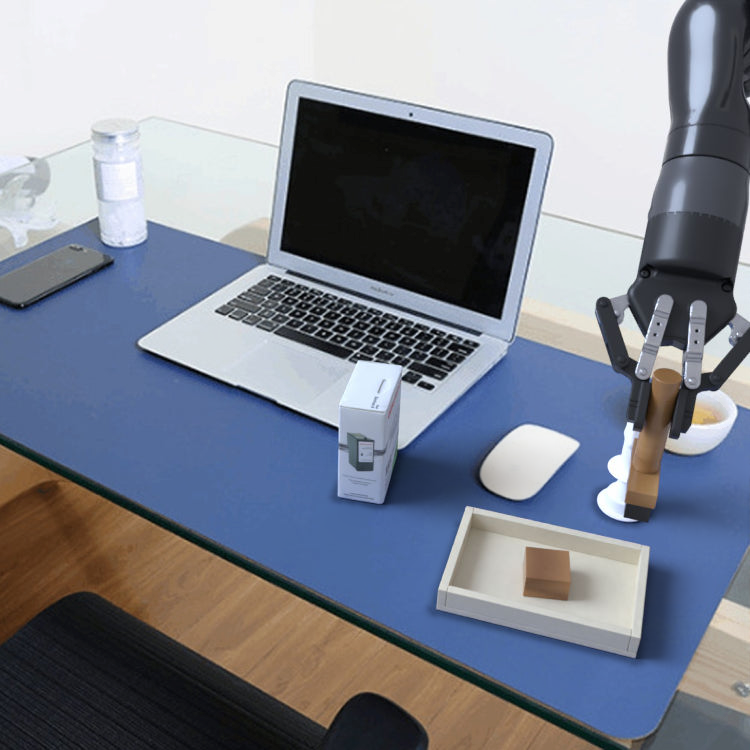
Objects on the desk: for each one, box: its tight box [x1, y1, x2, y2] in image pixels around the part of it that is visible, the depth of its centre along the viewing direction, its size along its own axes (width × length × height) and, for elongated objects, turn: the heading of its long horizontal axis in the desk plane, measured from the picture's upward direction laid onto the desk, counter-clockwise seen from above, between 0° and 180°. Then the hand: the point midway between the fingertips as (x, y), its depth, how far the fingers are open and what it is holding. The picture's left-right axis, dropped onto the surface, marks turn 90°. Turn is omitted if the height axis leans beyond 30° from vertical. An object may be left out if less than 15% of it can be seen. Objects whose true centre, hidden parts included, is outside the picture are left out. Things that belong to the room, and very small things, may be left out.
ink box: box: [337, 359, 403, 505], centre depth 101 cm, size 9×5×12 cm, turn 168°
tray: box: [435, 505, 651, 659], centre depth 92 cm, size 18×12×3 cm, turn 73°
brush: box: [623, 367, 682, 524], centre depth 81 cm, size 2×7×12 cm, turn 163°
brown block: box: [523, 547, 571, 601], centre depth 91 cm, size 4×4×2 cm
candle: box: [596, 421, 639, 523], centre depth 99 cm, size 5×5×12 cm
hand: (656, 432), depth 78 cm, fingers closed on brush, 2 cm apart
